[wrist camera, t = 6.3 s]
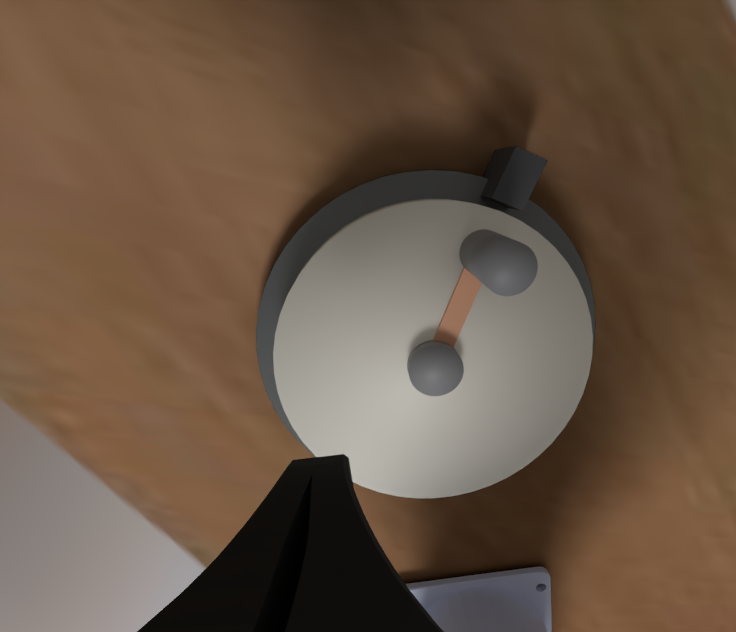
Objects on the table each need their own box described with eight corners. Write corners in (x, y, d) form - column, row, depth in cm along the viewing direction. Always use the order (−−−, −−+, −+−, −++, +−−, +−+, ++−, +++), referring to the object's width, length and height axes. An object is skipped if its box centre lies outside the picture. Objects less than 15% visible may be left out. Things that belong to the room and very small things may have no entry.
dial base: (584, 456, 22) (611, 489, 19) (293, 495, 22) (286, 533, 20) (585, 136, 17) (619, 130, 15) (224, 189, 18) (205, 191, 15)
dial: (499, 505, 21) (536, 591, 17) (245, 431, 19) (213, 503, 15) (628, 261, 18) (715, 288, 13) (334, 149, 16) (327, 140, 12)
